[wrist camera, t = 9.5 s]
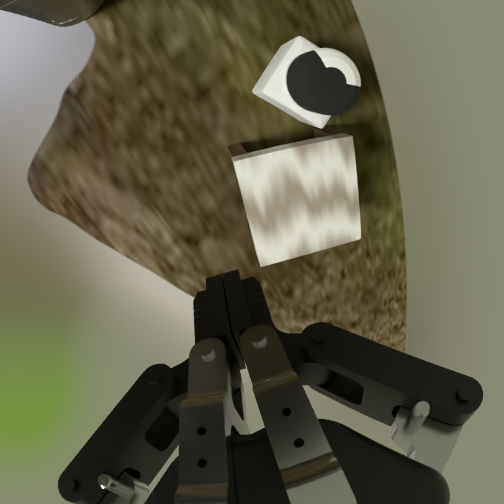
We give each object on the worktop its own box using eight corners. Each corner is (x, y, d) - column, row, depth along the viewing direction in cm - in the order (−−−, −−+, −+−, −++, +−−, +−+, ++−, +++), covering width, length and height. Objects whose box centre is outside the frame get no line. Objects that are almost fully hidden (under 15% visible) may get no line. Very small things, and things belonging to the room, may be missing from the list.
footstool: (233, 161, 27) (352, 136, 27) (227, 146, 34) (323, 125, 34) (260, 266, 33) (360, 238, 33) (250, 234, 40) (335, 211, 40)
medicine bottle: (301, 122, 34) (343, 138, 23) (250, 92, 31) (272, 92, 21) (331, 76, 31) (383, 75, 21) (281, 44, 28) (318, 24, 18)
